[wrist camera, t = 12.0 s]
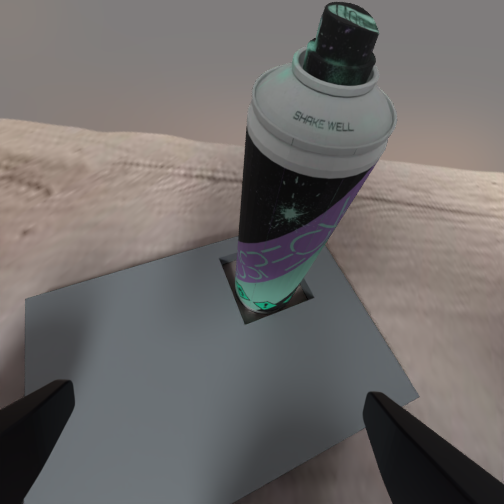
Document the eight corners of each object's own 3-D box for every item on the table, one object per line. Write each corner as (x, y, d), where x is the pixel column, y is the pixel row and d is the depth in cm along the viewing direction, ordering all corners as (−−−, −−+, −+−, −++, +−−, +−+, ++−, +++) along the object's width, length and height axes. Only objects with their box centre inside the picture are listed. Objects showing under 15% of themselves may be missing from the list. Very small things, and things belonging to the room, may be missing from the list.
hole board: (407, 396, 21) (419, 396, 19) (41, 602, 14) (22, 622, 13) (303, 224, 29) (306, 215, 27) (37, 304, 22) (25, 298, 21)
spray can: (225, 271, 25) (225, -21, 8) (275, 253, 26) (370, -26, 9) (249, 324, 23) (323, 77, 5) (302, 300, 24) (496, 48, 7)
